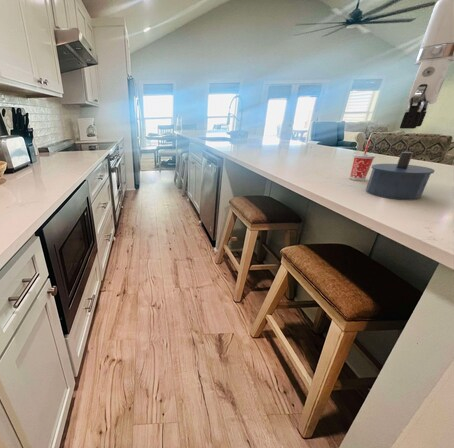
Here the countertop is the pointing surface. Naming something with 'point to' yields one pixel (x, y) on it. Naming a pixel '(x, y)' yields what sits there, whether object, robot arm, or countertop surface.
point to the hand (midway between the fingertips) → (410, 127)
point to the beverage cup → (361, 165)
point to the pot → (396, 185)
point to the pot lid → (403, 166)
